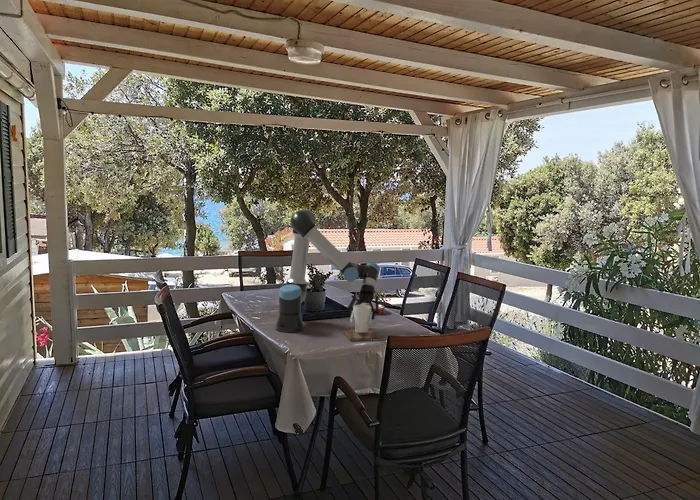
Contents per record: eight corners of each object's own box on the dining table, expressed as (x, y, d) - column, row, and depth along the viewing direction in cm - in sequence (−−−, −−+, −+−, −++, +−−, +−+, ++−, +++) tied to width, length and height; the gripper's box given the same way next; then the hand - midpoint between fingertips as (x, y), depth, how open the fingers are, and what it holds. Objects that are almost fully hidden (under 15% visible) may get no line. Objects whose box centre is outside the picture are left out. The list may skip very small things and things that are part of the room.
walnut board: (350, 341, 247) (350, 338, 247) (343, 333, 261) (343, 330, 261) (380, 339, 251) (380, 337, 251) (371, 331, 266) (371, 329, 266)
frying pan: (341, 306, 325) (341, 296, 324) (356, 303, 333) (356, 294, 332) (373, 316, 300) (373, 306, 299) (388, 313, 308) (389, 303, 307)
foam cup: (368, 334, 251) (369, 309, 249) (351, 332, 252) (351, 308, 251) (371, 329, 260) (372, 305, 258) (354, 327, 262) (355, 304, 260)
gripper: (388, 293, 266) (382, 329, 253) (349, 290, 271) (341, 324, 258) (387, 285, 260) (380, 321, 247) (347, 282, 266) (338, 317, 252)
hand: (360, 323), depth 253 cm, fingers closed on foam cup, 9 cm apart
